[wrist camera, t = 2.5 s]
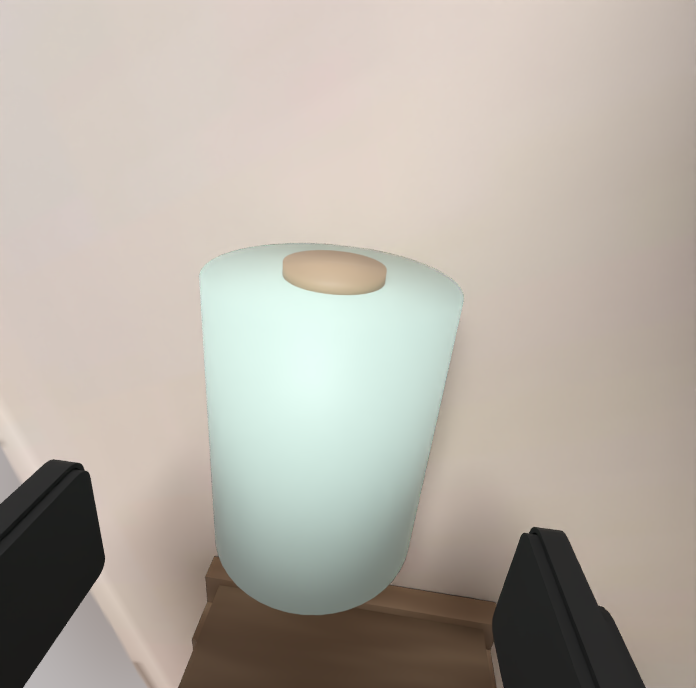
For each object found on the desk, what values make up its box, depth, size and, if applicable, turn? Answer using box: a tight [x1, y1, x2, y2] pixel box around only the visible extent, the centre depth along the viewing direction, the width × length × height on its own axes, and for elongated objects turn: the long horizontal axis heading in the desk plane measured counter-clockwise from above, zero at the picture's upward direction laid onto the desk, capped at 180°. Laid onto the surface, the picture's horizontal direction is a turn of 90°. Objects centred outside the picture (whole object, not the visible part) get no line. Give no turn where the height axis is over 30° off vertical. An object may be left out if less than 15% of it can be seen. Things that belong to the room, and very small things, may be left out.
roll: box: [199, 243, 464, 615], centre depth 12 cm, size 9×6×6 cm
